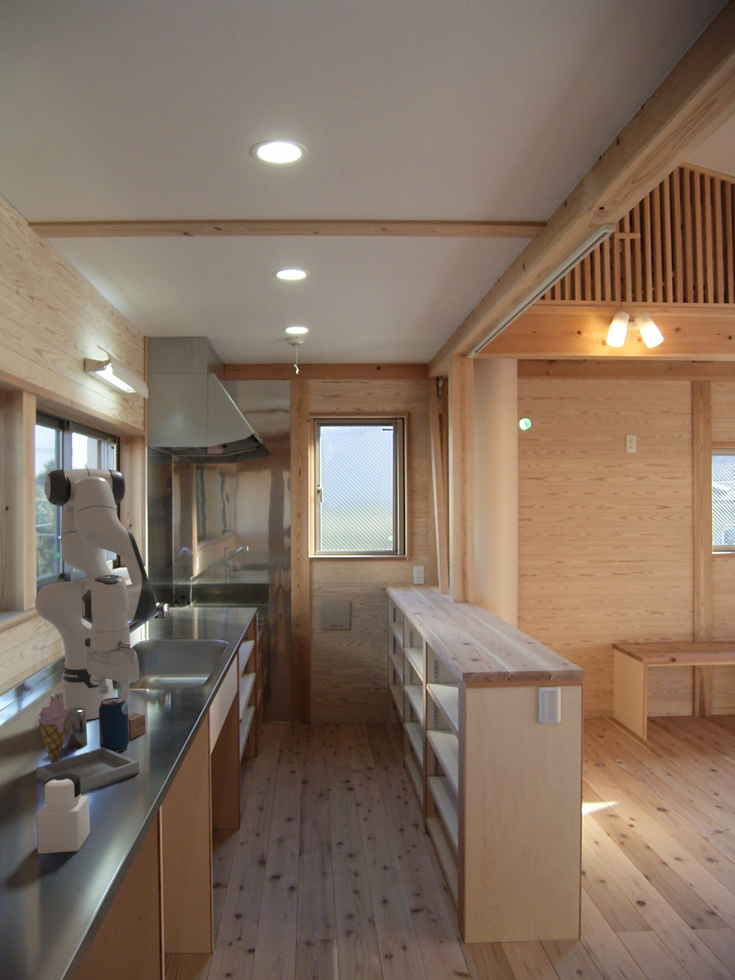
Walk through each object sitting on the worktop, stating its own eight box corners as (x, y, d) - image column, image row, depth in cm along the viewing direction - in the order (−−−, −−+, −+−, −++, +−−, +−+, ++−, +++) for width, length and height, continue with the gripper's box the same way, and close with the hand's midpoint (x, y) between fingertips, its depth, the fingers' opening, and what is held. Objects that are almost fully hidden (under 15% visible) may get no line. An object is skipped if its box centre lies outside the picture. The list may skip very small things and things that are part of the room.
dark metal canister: (62, 746, 183) (61, 711, 183) (81, 741, 186) (80, 706, 186) (71, 750, 179) (70, 714, 179) (90, 745, 183) (89, 709, 183)
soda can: (135, 745, 181) (133, 697, 181) (115, 755, 175) (113, 705, 175) (114, 742, 184) (112, 695, 184) (93, 751, 178) (92, 703, 178)
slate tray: (36, 779, 162) (36, 767, 162) (104, 757, 173) (103, 747, 173) (70, 797, 151) (69, 785, 151) (138, 773, 163) (138, 762, 163)
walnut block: (117, 737, 189) (116, 718, 189) (131, 731, 193) (131, 712, 193) (131, 739, 186) (130, 720, 186) (145, 733, 191) (144, 714, 191)
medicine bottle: (51, 835, 134) (49, 771, 134) (90, 832, 134) (88, 768, 135) (37, 854, 127) (34, 786, 127) (78, 851, 127) (76, 784, 127)
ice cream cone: (76, 760, 173) (74, 697, 173) (57, 770, 167) (55, 705, 167) (54, 757, 175) (52, 696, 175) (34, 767, 169) (32, 703, 169)
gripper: (144, 642, 175) (147, 699, 175) (103, 635, 189) (105, 688, 188) (120, 646, 170) (123, 705, 170) (80, 639, 184) (82, 693, 184)
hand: (113, 696), depth 179 cm, fingers open, 8 cm apart
